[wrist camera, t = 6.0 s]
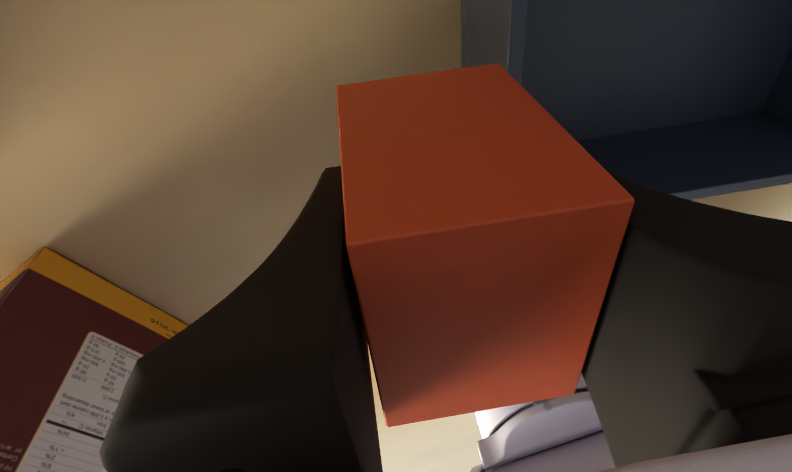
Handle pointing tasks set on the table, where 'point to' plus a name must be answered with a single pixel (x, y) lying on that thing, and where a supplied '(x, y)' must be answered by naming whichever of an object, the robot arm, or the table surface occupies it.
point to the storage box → (654, 83)
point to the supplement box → (66, 362)
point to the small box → (472, 241)
